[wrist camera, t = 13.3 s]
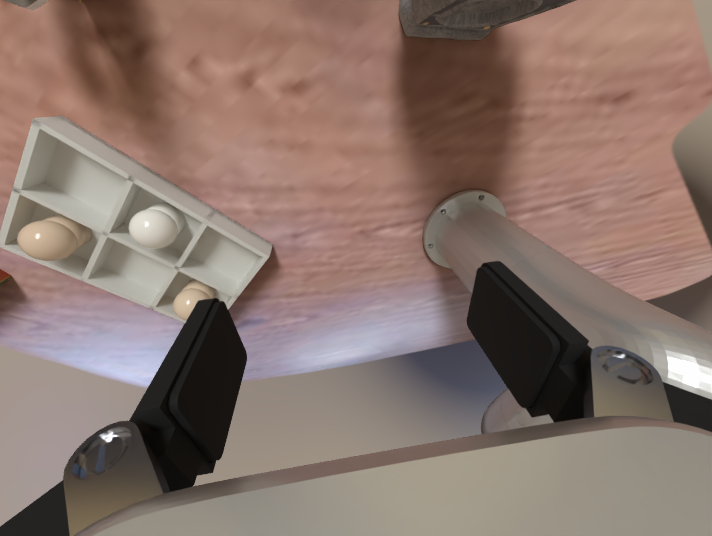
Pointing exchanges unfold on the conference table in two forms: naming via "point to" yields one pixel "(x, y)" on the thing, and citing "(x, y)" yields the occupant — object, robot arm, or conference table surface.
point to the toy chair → (29, 3)
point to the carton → (4, 277)
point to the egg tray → (124, 221)
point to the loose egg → (157, 225)
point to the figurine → (466, 16)
